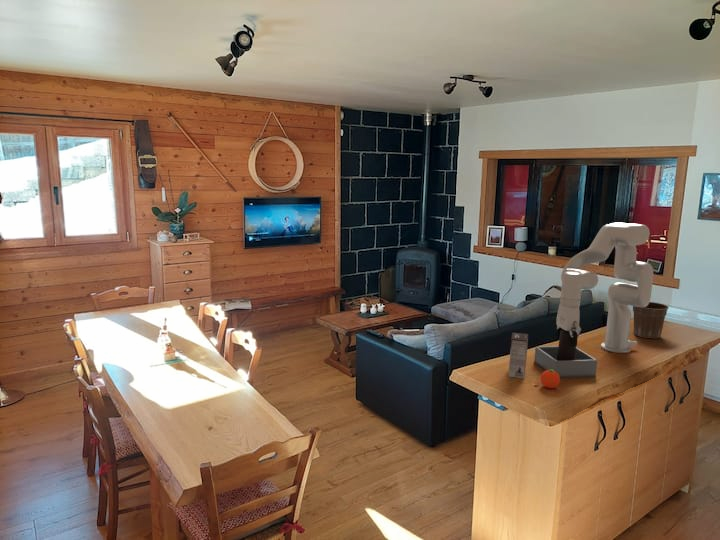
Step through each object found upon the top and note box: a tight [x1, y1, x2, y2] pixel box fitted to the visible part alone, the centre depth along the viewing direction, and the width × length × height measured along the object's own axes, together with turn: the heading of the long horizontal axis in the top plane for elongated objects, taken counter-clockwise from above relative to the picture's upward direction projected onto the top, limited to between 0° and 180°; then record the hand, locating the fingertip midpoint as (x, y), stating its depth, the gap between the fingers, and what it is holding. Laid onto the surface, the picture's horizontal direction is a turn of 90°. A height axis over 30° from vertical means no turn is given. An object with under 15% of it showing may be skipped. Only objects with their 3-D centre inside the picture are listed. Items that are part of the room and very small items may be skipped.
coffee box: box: [508, 332, 529, 379], centre depth 207 cm, size 9×6×16 cm
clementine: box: [540, 369, 561, 389], centre depth 195 cm, size 8×7×7 cm
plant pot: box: [632, 301, 670, 340], centre depth 260 cm, size 16×16×16 cm
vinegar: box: [557, 329, 577, 361], centre depth 212 cm, size 7×7×20 cm
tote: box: [533, 345, 598, 379], centre depth 214 cm, size 18×18×7 cm
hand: (566, 342), depth 212 cm, fingers open, 9 cm apart
